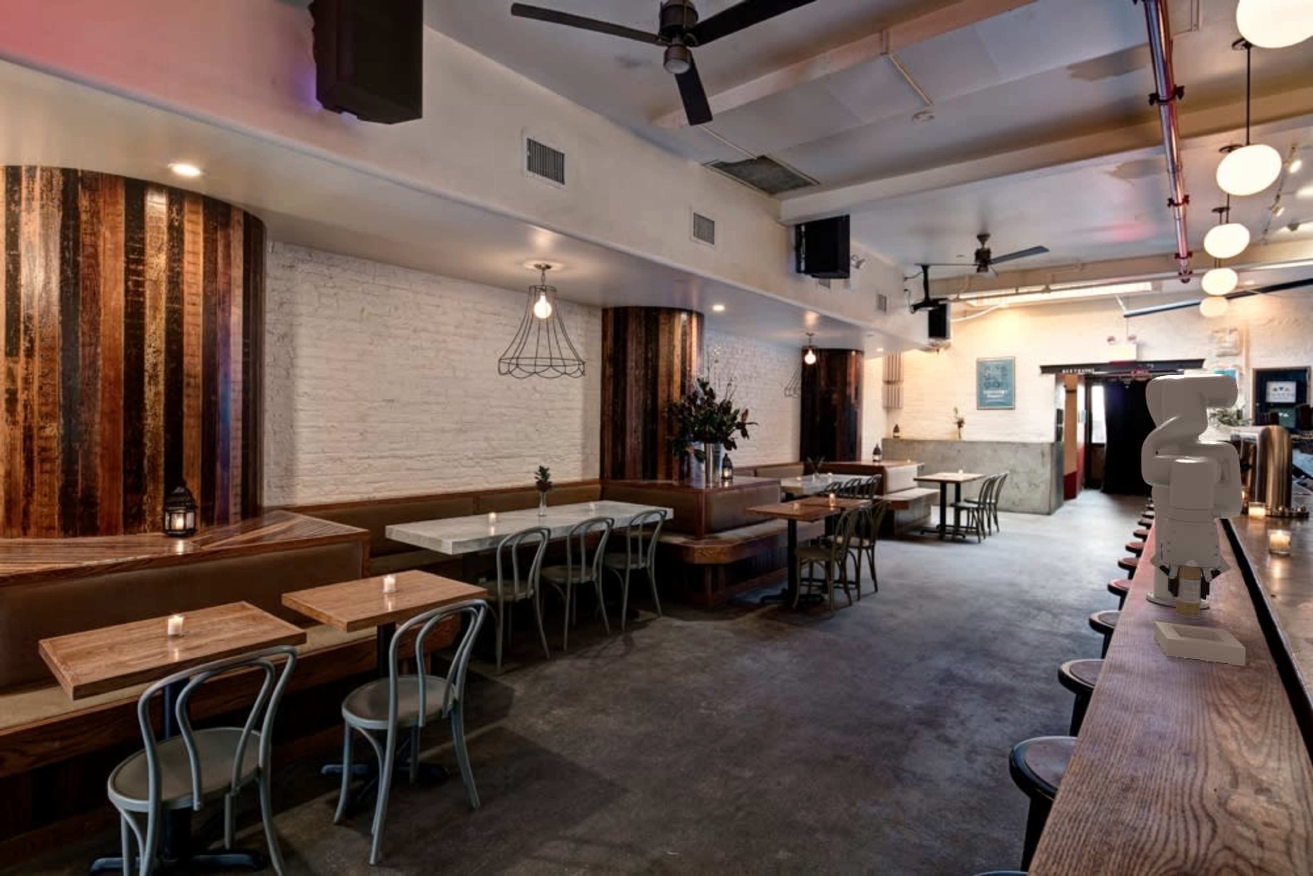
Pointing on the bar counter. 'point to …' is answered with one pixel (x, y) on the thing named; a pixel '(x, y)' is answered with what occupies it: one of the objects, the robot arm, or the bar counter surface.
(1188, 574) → the sprinkles bottle
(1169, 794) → the bar counter surface
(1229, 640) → the collar
